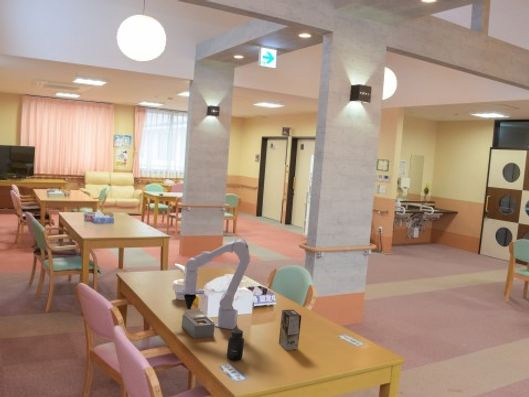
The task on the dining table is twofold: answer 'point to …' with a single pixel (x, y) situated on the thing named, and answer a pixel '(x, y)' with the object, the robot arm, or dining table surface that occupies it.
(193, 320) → the housing
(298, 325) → the coffee box
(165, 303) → the dining table surface
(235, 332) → the supplement bottle
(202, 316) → the lid
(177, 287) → the potted plant
